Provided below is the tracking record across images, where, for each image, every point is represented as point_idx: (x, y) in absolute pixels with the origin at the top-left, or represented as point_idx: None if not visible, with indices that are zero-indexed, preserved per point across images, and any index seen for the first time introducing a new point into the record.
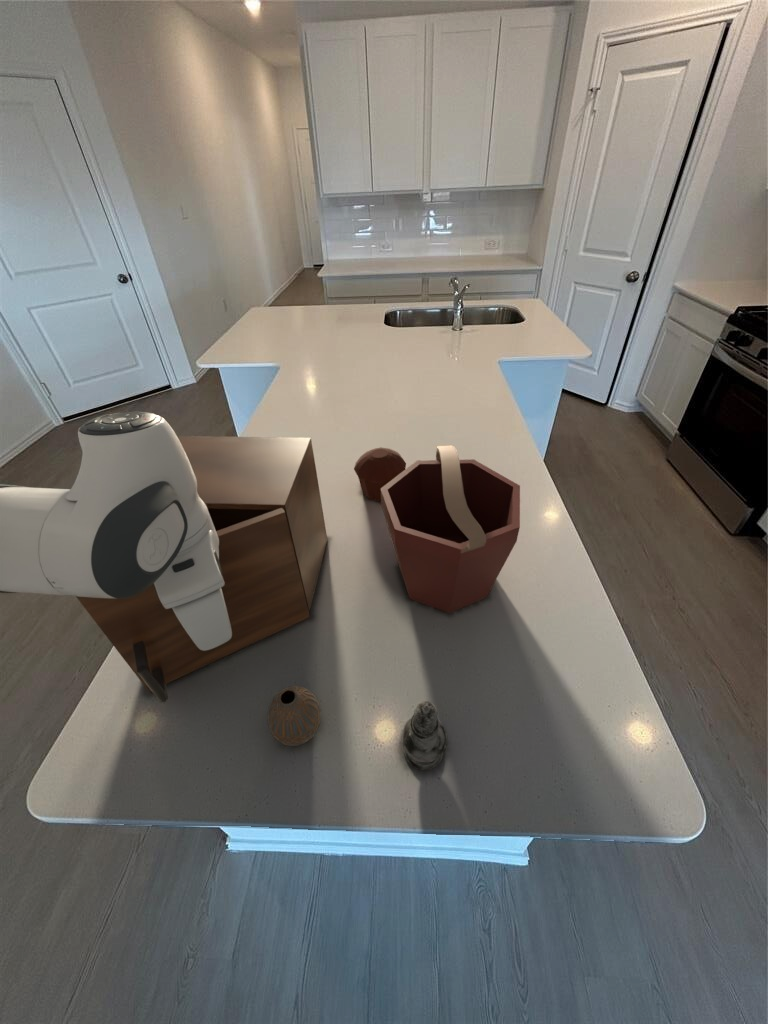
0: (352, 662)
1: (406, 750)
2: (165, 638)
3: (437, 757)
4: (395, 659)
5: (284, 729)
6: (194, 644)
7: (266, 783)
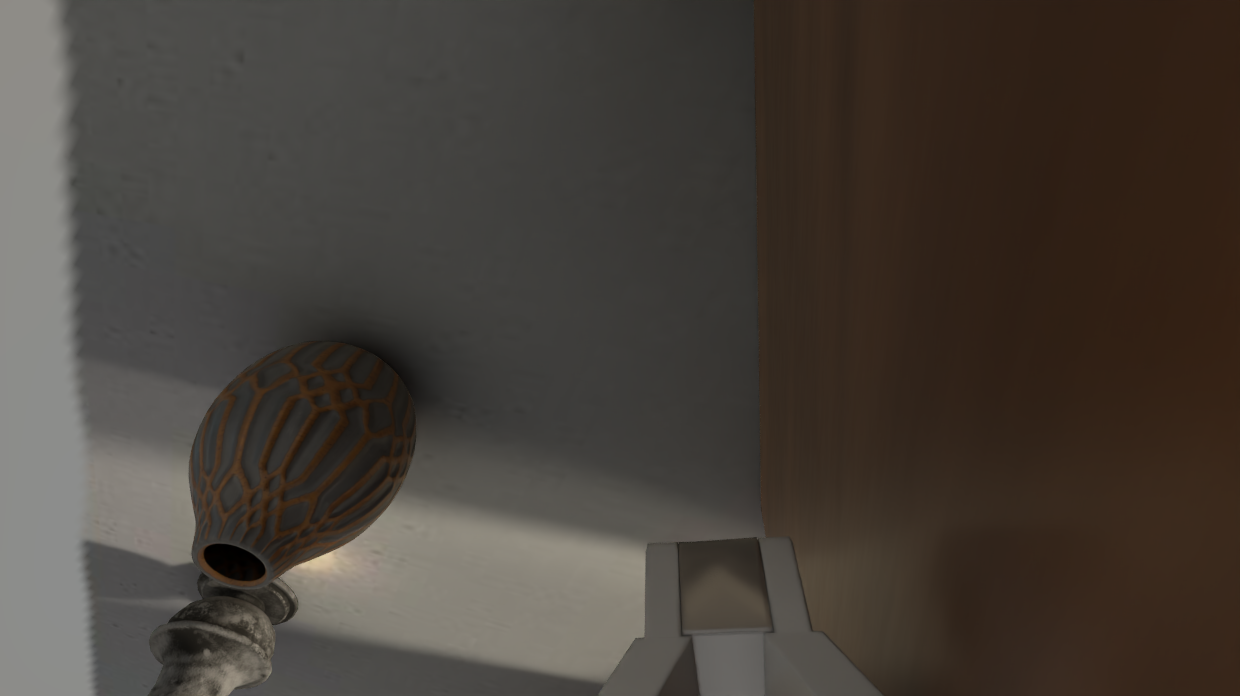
0: (529, 552)
1: (176, 626)
2: (835, 61)
3: (158, 660)
4: (499, 624)
5: (190, 459)
6: (787, 169)
7: (175, 259)
